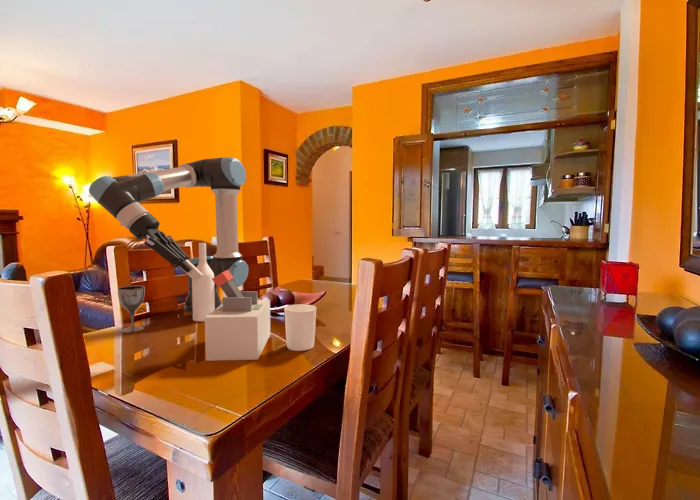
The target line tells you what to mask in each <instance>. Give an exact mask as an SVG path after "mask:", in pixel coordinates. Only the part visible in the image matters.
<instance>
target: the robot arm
mask: <svg viewBox="0 0 700 500" xmlns="http://www.w3.org/2000/svg"><path fill="white" fill-rule="evenodd" d="M242 163H243V162H241V161H240V160H239V159H238V158H236V157H232V156H230V157H229V156H227V157H226V156H224V157H213V158H203V159H199V160H195V161H191V162H187V163H182V164H180V165H178V167H173V168H172V167H171V168H165V169H159V170H153V171H152V170H151V171H145V172H138V173H131V174H127V175H126V174H125V175H119V176H109V175H103V176H101V177H99V178H98V177H97V179H95V180H94V181H92V182H91V184H90V186H89V188H88V193H89V195H90V196H91V197H92V198H93V199H94V200H95V201H96V202H97V203H98V204H99V205H100V206H101V207H102V208H104V209H105V211H107V213H109V214H110V215H111V216H113V218H115V219H116V221H118V222H119V223H120V226H122V227H124V228H125V229H126V230H129V233H130V234H131V235H133V236H134V237H135V238H136V239H137V240H145V241H144V242H143V243H144V245H145V246H147V247H149V248H150V249H152V250H153V251H154V252H155V253H157V254H158V255H160V257H162V258H163V259H164V260H166V261H167V262H168V263H170V265H171V266H174V268H175V269H177V268H178V267H179V268H180V269H181V270H182V271H183V272H184V273H185V274H186V275H187V285H188V287H187V288H188V293H187V296H186V299H185V302H184V311H185V312H187V313H193V306H192V279H193V280H194V281H195V282H196V281H198V280H199V279H200V278H201V277H202V276H203V274H202V273H201V272H200V271H199V270H198V269H197V268H196V267H197V266H198V264H199V256H197V257H191V258H190V256H189V255H187V253H185V251H184V250H183V249H182V248H181V247H180V246H179V244H178V243H177V242H176V241H175V240H174V239H173V237H172V236H171V235H168V236H167V234H166V233H165V232H164V231H162V230H159V227H160V221H159V220H158V219H157V218H156V217H154V215H153V214H151V213H150V211H148V209H146V208H145V207H144V206H143V205H142V204H141V203H142V202H145V201H147V200H150V199H155V198H156V197H158V196H160V195H162V194H163V192H164V191H169V190H173V189H178V188H182V187H183V188H188V189H190V188H195V187H204V188H206V187H208V188H210V191H211V193H213V194H214V199H215V200H214V201H215V203H214V205H215V207H214V208H215V229H216V230H215V231H216V232H215V233H216V235H215V237H216V253H215V254H214V255H210V256H209V255H206V260H207V264H208V266H209V267H210V268H211V270H212V271H213V273H214V277H216V276H217V275H219V274H220V273H222V272H224V271H226V270H229V272H230V273H231V275H232V276H233V278H232V280H233V282H234V283H235V285H236V286H237V287H238V288H240V287H241V286H243V285H244V283H245V282H246V280H248V279H247V278H248V276H249V265H248V264H247V262H246V261H245V260H244V259H243V254H241V252H240V251H239V233H238V232H239V231H238V230H239V228H238V225H239V224H238V195H239V193H240V192H241V187H242V186H243V185H245V183H246V182H247V173H246V169H245V167H244V165H243V164H242ZM219 287H220V286H219ZM219 287H217V286H216V284H215V283H214V291H215V309H216V308H218V307H219V306H220V305H222V304H223V302H222V299H221V297H220V294H219V292H218V288H219ZM220 288H221V287H220Z"/></svg>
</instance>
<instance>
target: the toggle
mask: <svg viewBox="0 0 700 500" xmlns="http://www.w3.org/2000/svg"><path fill="white" fill-rule="evenodd" d="M232 278H233V276H232V275H231V273H230V272H229V270H226V271H224V272H222V273H220V274H219V275H217V276H216V277H214V278H213V279H212V280H213V281H214V283H215V284H216V286H217V288H219V286H220V289H221V290H222V291H223V293H224V294H225V296H226V297H244V296H243V295H242V293H241V292H240V291H241V290H240V289H239V287H237V286H236V285H235V283H234V282H233V280H232Z"/></svg>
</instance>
